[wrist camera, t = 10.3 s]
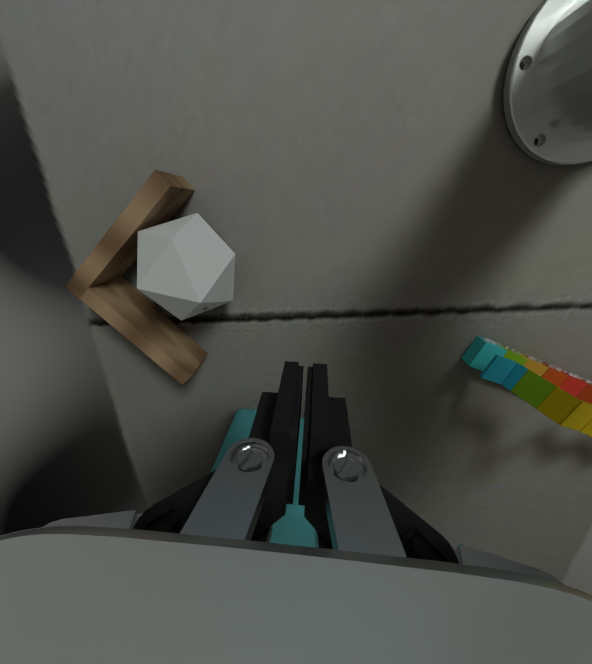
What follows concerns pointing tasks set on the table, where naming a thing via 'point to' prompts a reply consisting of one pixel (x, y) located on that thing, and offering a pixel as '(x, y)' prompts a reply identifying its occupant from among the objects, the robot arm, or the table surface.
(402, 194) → the table surface
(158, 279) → the die
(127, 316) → the bracket
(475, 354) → the chart
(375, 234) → the table surface
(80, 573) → the robot arm
